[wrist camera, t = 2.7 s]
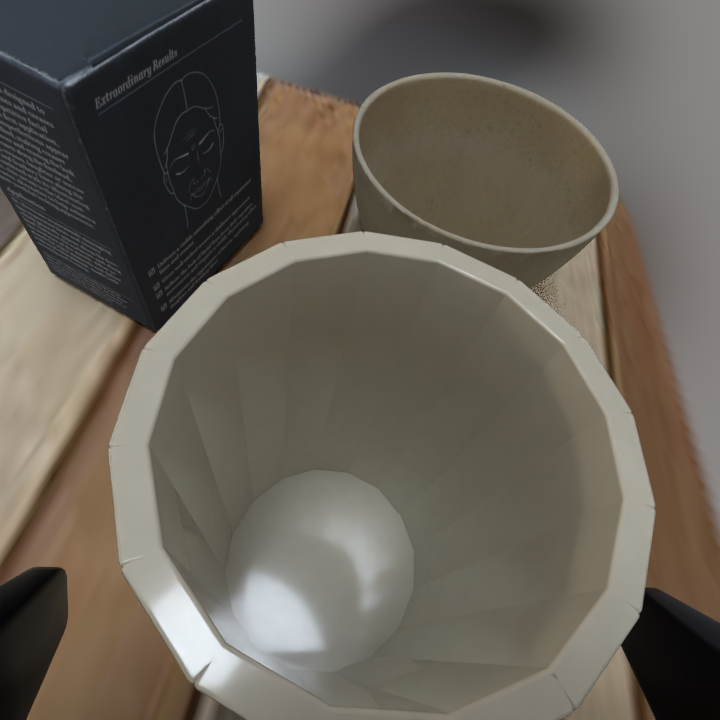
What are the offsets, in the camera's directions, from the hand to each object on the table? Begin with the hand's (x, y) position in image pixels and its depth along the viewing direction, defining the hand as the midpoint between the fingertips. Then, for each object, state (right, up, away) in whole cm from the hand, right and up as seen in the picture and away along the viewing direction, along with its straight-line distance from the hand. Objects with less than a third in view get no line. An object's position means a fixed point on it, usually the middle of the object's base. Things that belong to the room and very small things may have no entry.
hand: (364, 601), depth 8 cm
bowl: (+3, +8, +16) cm, 19 cm away
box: (-9, +9, +15) cm, 19 cm away
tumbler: (-1, -3, +9) cm, 9 cm away
